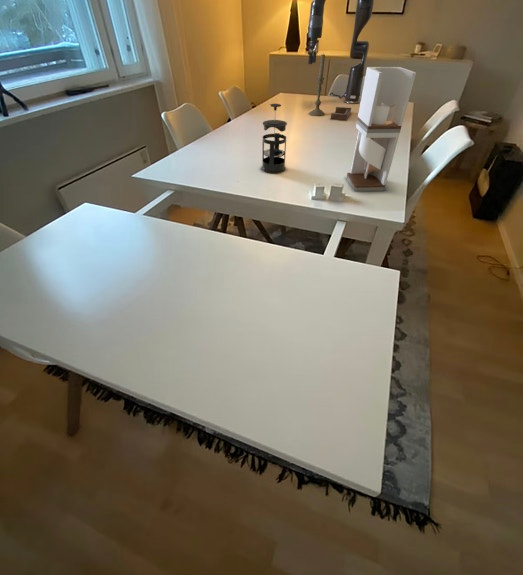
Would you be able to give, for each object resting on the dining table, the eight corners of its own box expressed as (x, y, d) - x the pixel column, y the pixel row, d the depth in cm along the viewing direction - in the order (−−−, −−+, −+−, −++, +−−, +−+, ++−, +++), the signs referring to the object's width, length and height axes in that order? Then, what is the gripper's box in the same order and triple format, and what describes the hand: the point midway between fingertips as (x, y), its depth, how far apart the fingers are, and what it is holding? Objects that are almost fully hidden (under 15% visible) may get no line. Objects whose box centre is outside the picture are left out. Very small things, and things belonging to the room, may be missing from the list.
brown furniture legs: (330, 119, 184) (331, 113, 182) (335, 112, 197) (336, 106, 195) (346, 120, 182) (347, 115, 180) (350, 113, 195) (351, 107, 193)
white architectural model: (346, 178, 121) (367, 67, 98) (373, 177, 121) (400, 67, 98) (354, 191, 112) (379, 72, 89) (384, 190, 113) (416, 72, 90)
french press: (282, 174, 123) (286, 108, 108) (259, 172, 124) (259, 106, 109) (287, 164, 132) (291, 100, 116) (265, 162, 133) (266, 99, 118)
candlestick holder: (326, 113, 194) (334, 52, 174) (320, 116, 188) (327, 54, 168) (313, 111, 198) (319, 51, 178) (306, 114, 192) (312, 53, 172)
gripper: (311, 26, 177) (308, 62, 187) (305, 26, 167) (302, 64, 177) (324, 26, 175) (320, 62, 186) (319, 27, 165) (315, 65, 175)
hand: (311, 63), depth 181 cm, fingers open, 8 cm apart
